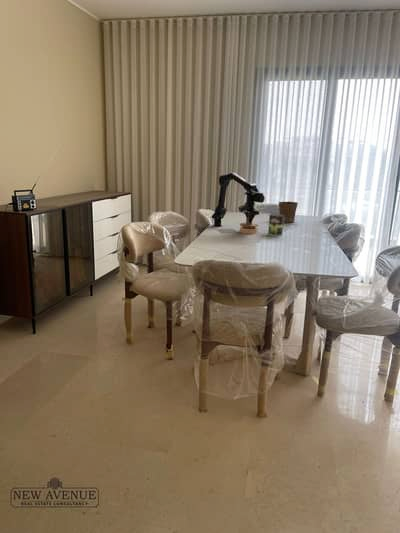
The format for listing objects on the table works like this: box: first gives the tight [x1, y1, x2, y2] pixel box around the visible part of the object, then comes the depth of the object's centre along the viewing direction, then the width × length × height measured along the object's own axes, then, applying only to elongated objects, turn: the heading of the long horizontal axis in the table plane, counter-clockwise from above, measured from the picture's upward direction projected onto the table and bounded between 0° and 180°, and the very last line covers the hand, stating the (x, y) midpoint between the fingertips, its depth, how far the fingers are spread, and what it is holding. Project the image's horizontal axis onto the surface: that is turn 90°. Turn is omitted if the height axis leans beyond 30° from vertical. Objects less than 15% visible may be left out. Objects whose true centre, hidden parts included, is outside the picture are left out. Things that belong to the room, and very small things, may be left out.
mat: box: [214, 228, 239, 234], centre depth 287 cm, size 14×14×1 cm
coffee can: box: [267, 213, 284, 237], centre depth 278 cm, size 10×10×14 cm
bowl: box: [239, 226, 259, 235], centre depth 285 cm, size 12×12×4 cm
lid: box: [239, 216, 259, 228], centre depth 283 cm, size 13×13×6 cm
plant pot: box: [278, 201, 299, 224], centre depth 328 cm, size 16×16×16 cm
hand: (249, 222), depth 283 cm, fingers closed on lid, 3 cm apart
